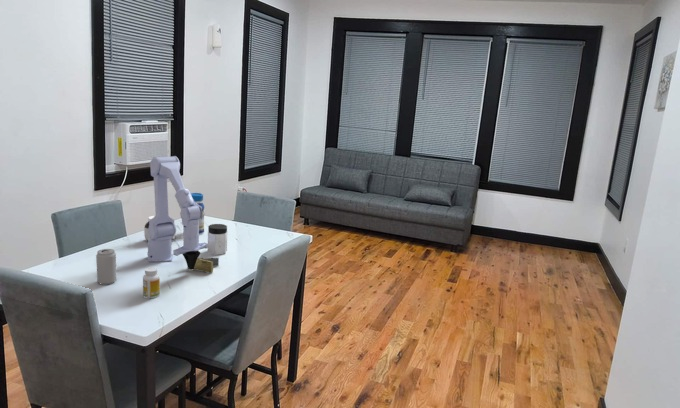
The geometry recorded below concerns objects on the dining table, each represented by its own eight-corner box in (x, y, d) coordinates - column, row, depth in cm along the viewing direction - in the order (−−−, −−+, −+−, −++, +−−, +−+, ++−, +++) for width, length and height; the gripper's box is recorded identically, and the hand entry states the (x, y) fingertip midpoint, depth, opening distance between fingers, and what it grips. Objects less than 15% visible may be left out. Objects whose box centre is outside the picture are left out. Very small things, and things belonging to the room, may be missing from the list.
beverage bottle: (186, 230, 246) (187, 192, 242) (204, 230, 249) (204, 192, 244) (187, 235, 238) (187, 195, 234) (204, 235, 241) (205, 196, 237)
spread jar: (141, 241, 224) (141, 217, 222) (158, 235, 235) (157, 212, 232) (163, 246, 221) (163, 221, 218) (178, 239, 231) (178, 216, 229)
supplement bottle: (161, 292, 172) (161, 267, 170) (156, 299, 167) (156, 272, 164) (146, 291, 172) (146, 266, 169) (140, 298, 166) (140, 271, 164)
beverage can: (111, 277, 182) (110, 247, 179) (119, 282, 178) (118, 251, 175) (94, 281, 177) (92, 250, 174) (102, 286, 173) (101, 255, 170)
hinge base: (188, 268, 196) (188, 253, 194) (188, 266, 199) (188, 250, 197) (218, 267, 199) (219, 252, 198) (218, 265, 202) (218, 250, 201)
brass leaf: (192, 268, 195) (192, 257, 194) (194, 268, 196) (194, 257, 195) (211, 273, 192) (211, 261, 191) (212, 272, 193) (213, 261, 192)
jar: (210, 255, 213) (211, 229, 210) (204, 250, 219) (205, 224, 217) (230, 253, 218) (230, 227, 215) (223, 247, 224) (224, 223, 221)
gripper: (181, 242, 179) (181, 276, 182) (212, 234, 190) (212, 267, 193) (170, 237, 183) (170, 271, 186) (201, 230, 194) (201, 262, 197)
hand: (191, 269), depth 190 cm, fingers closed
